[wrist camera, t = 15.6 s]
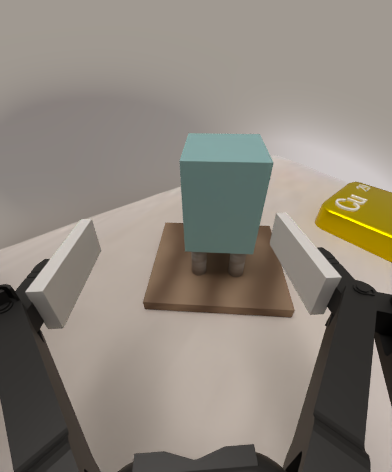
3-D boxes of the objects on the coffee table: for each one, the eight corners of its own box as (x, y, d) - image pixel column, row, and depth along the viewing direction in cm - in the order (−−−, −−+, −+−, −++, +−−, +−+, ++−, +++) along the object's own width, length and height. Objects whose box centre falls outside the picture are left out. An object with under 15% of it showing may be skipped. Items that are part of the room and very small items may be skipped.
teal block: (185, 251, 26) (179, 161, 19) (191, 213, 32) (188, 133, 25) (253, 254, 26) (273, 162, 19) (246, 214, 32) (259, 134, 25)
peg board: (145, 308, 28) (135, 275, 24) (166, 229, 40) (162, 197, 36) (291, 317, 27) (308, 283, 23) (267, 232, 39) (276, 200, 35)
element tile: (407, 272, 32) (429, 248, 29) (309, 225, 41) (318, 203, 38) (431, 229, 40) (450, 207, 37) (344, 197, 49) (354, 177, 45)
